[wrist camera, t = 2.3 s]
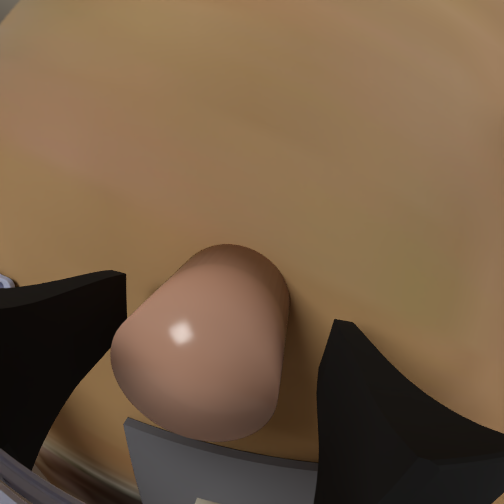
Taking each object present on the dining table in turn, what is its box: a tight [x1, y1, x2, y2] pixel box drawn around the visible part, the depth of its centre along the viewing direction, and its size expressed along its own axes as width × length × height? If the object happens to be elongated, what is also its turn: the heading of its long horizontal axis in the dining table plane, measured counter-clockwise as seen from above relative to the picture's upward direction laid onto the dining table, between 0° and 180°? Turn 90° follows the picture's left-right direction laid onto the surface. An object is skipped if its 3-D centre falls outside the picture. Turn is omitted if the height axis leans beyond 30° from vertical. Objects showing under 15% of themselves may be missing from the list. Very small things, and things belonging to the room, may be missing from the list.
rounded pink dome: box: [111, 244, 290, 442], centre depth 10 cm, size 4×4×5 cm
